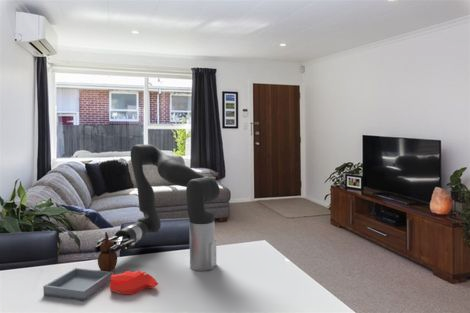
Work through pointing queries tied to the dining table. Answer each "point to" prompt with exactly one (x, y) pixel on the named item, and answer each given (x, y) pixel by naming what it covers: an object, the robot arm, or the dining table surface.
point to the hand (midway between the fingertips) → (103, 250)
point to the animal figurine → (131, 282)
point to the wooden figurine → (107, 256)
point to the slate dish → (78, 284)
